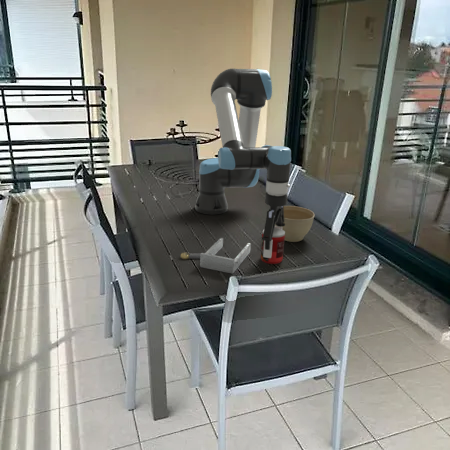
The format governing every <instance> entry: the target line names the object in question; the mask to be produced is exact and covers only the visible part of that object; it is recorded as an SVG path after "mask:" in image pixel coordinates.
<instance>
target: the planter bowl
mask: <svg viewBox="0 0 450 450" xmlns="http://www.w3.org/2000/svg"><path fill="white" fill-rule="evenodd" d="M314 218H315V213H314V211H312V210H311V209H308V208H305V207H301V206H296V205H285V206H284V223H285V226H281V227H282V230H283V231H284V232H285V240H284V242H285V241H287V242H291V243H297V242H300V241H303V240H304V238H305V236H306V235H307V234H308V233H309V231H311V228H312V226H313V223H314ZM275 226H277V225H276V224H275Z"/></svg>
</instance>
